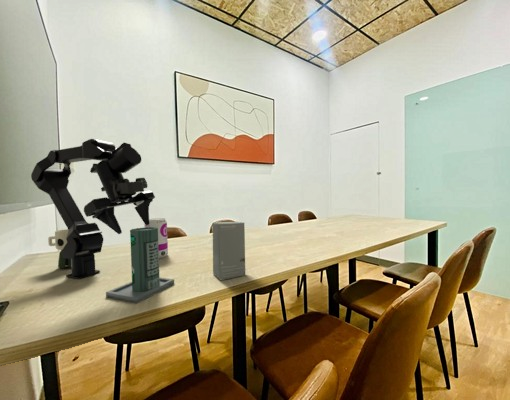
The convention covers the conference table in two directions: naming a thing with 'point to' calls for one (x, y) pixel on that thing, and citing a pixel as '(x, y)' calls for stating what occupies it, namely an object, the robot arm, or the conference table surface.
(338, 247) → the conference table surface
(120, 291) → the tray
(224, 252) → the skincare box
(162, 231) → the supplement can
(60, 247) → the character mug
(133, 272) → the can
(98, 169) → the robot arm
